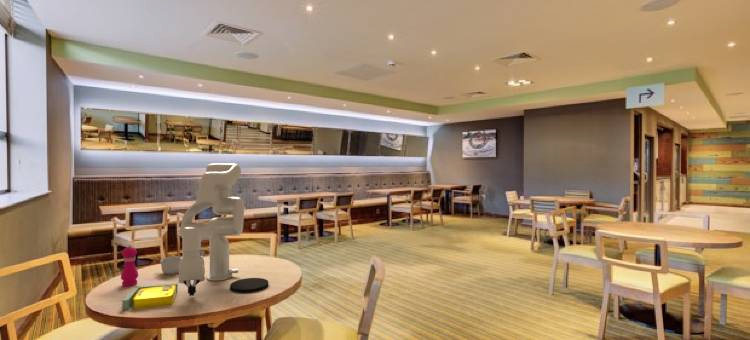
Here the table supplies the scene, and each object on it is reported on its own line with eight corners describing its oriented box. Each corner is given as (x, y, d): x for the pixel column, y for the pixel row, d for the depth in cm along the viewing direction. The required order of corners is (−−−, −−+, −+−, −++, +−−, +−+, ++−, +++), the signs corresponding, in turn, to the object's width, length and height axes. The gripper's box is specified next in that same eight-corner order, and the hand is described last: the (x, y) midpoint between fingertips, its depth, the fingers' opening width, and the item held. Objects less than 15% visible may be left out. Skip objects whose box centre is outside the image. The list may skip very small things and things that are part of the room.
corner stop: (177, 291, 177) (177, 283, 177) (169, 305, 160) (169, 296, 160) (135, 295, 171) (135, 286, 171) (122, 310, 154) (122, 300, 154)
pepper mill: (129, 287, 182) (129, 246, 181) (117, 286, 183) (116, 245, 183) (141, 283, 189) (141, 243, 188) (129, 281, 190) (129, 242, 190)
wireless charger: (266, 292, 177) (266, 288, 177) (226, 294, 174) (226, 290, 174) (270, 280, 195) (270, 277, 195) (233, 282, 192) (233, 278, 192)
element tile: (138, 298, 169) (138, 287, 169) (176, 293, 175) (176, 283, 175) (131, 310, 155) (131, 298, 155) (172, 305, 161) (172, 294, 161)
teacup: (187, 272, 208) (187, 257, 207) (167, 277, 198) (167, 262, 198) (173, 268, 215) (173, 254, 215) (153, 272, 206) (153, 258, 206)
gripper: (210, 251, 175) (210, 290, 175) (174, 253, 170) (175, 293, 171) (208, 255, 168) (208, 296, 168) (171, 257, 163) (171, 299, 164)
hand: (191, 294), depth 169 cm, fingers closed
